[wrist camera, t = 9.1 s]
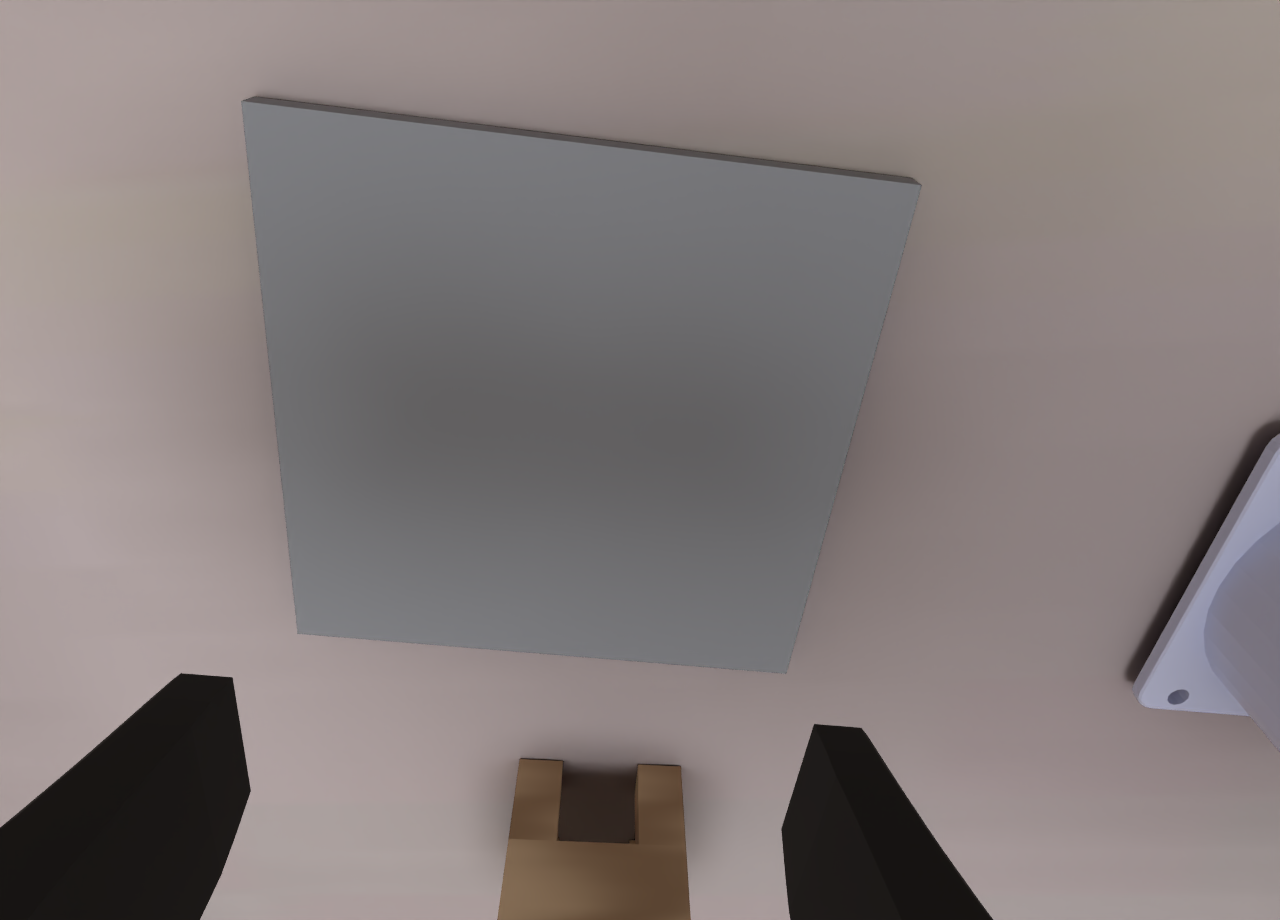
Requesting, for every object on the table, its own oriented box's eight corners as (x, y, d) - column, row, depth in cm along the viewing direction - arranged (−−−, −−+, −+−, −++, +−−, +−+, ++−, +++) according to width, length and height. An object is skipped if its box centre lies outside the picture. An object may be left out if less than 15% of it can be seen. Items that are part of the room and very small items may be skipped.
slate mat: (912, 177, 16) (921, 185, 15) (782, 656, 22) (786, 673, 21) (254, 96, 15) (241, 101, 15) (305, 617, 21) (297, 633, 20)
